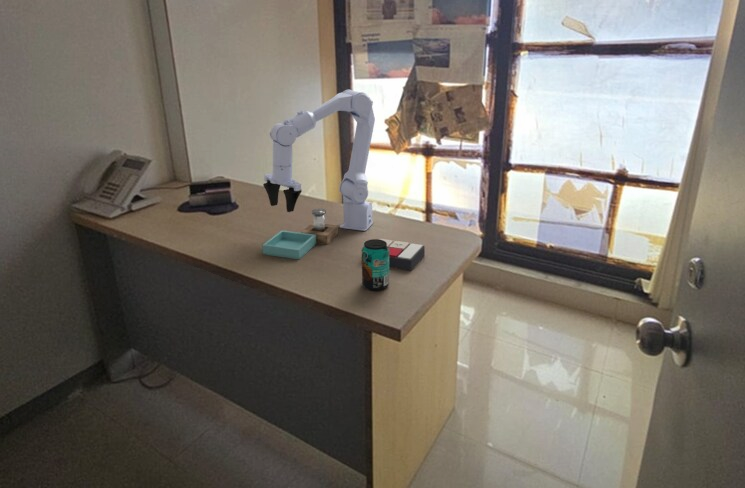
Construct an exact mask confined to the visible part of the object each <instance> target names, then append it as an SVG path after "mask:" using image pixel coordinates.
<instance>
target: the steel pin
mask: <svg viewBox="0 0 745 488" xmlns="http://www.w3.org/2000/svg"><path fill="white" fill-rule="evenodd" d="M326 212H327V210H326V209H325V208H314V209H312V210H311V214H312V216H313V222H314V231H319V232H324V231H325V224H326V214H327V213H326Z"/></svg>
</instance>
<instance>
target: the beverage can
mask: <svg viewBox="0 0 745 488" xmlns="http://www.w3.org/2000/svg"><path fill="white" fill-rule="evenodd" d="M379 239H380V238H375V239H374V238H373V239H368V240H366V241H365V242H364V243H363V244H364V245H363V247H362V248H361V281H362V282H361V285H363V287H364V288H365V289H367V290H369V291H374V292H377V291H378V292H379V291H383V290H384V289H386V288H388V287H389V285H390V266H389V248H388V247H387V243H386V242H385V241H383V240H379Z"/></svg>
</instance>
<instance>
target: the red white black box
mask: <svg viewBox="0 0 745 488" xmlns="http://www.w3.org/2000/svg"><path fill="white" fill-rule="evenodd" d="M378 239H379V240H383V241H385V242H386V243H387V247H388V248H389V268H391V267H392V268H396V269H398V270H404V271H408V272H412V271H413V270H414V269H415V268H416V267H417V265H419V263H420V262H421V261H423V259H424V258H425V250H426V249H425V245H423V244H417V243H410V242H408V241H399V240H393V239H392V240H391V239H386V238H378Z"/></svg>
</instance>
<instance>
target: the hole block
mask: <svg viewBox="0 0 745 488" xmlns="http://www.w3.org/2000/svg"><path fill="white" fill-rule="evenodd" d="M300 233H306V234H314V235H316V242H317V244H322V245H329V244H330V242H332V241H333V240H334V239H335V238H336V237H337V236H338V234H339V225H338V224H332V223H331V224H330V223H325V231H324V232H319V231H314V221H313V222H311V223H310V224H308V226H306V227H305V228H304V229H303V230H301V231H300Z"/></svg>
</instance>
